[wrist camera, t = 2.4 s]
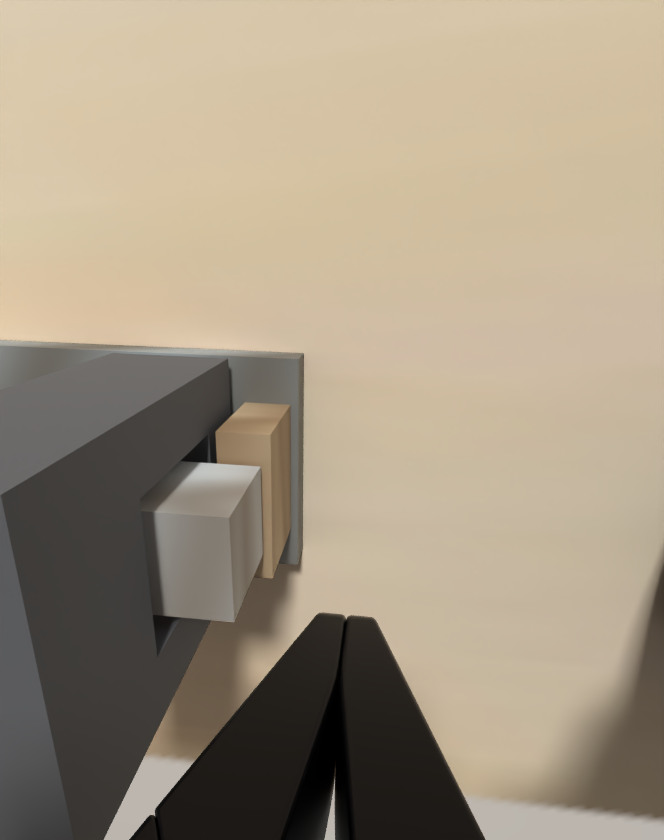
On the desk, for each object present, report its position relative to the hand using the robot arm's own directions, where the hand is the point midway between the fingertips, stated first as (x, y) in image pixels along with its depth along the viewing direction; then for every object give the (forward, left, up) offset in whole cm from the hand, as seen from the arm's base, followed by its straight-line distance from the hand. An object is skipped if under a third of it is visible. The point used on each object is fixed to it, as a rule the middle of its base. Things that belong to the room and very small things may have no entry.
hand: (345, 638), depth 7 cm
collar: (+5, 0, -6) cm, 7 cm away
